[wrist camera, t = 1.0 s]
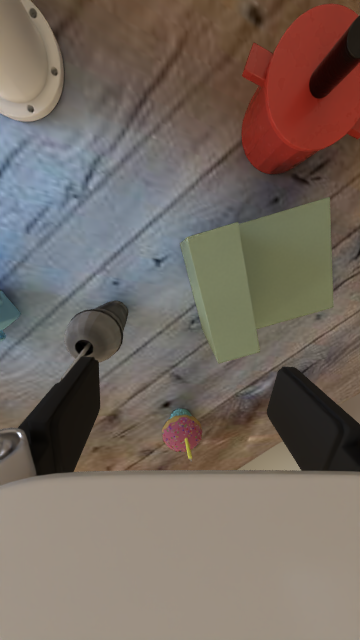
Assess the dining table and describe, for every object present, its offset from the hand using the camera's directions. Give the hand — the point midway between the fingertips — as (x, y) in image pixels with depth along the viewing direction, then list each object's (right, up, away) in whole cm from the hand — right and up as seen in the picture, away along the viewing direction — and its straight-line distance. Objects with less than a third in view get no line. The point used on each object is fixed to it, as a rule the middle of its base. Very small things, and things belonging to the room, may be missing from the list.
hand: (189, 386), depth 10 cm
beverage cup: (-13, +5, +28) cm, 31 cm away
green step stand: (+12, +12, +27) cm, 32 cm away
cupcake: (0, -19, +37) cm, 41 cm away
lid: (+15, +30, +12) cm, 36 cm away
